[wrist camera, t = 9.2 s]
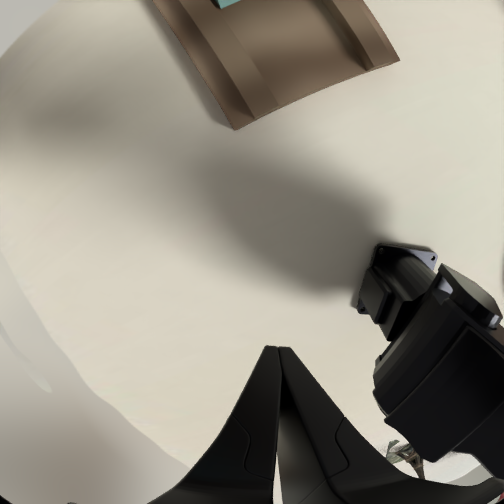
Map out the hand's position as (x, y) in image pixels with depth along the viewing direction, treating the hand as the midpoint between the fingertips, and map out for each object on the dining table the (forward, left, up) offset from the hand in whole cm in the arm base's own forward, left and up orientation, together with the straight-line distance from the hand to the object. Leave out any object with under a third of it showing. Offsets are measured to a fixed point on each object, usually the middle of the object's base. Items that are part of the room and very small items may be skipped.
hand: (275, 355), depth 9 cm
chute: (+2, -17, -13) cm, 21 cm away
